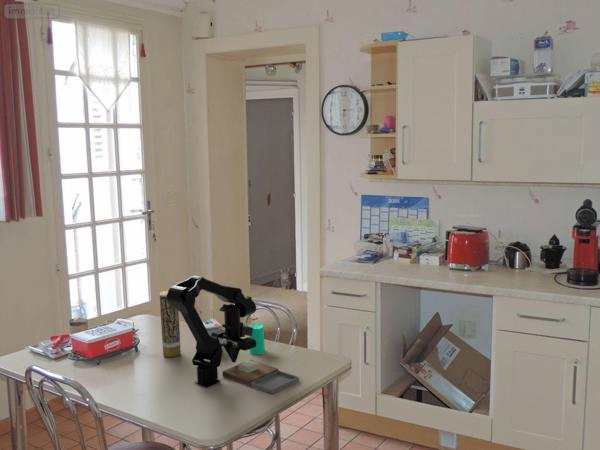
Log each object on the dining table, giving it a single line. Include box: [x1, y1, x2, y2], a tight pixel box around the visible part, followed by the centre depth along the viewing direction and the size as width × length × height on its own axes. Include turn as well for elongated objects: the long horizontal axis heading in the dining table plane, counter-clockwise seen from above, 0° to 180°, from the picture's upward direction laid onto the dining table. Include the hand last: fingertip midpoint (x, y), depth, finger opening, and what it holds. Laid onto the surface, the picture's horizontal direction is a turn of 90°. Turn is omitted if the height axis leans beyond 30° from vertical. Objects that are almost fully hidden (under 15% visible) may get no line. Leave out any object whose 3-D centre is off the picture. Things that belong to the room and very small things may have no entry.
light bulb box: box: [201, 318, 224, 350], centre depth 251 cm, size 11×7×11 cm, turn 25°
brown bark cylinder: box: [159, 290, 182, 358], centre depth 244 cm, size 7×7×25 cm
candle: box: [248, 323, 266, 355], centre depth 246 cm, size 6×6×12 cm
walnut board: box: [222, 359, 279, 387], centre depth 223 cm, size 14×14×2 cm
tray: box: [250, 369, 300, 395], centre depth 216 cm, size 14×10×2 cm
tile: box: [237, 359, 258, 373], centre depth 224 cm, size 5×5×2 cm
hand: (234, 362), depth 229 cm, fingers closed
